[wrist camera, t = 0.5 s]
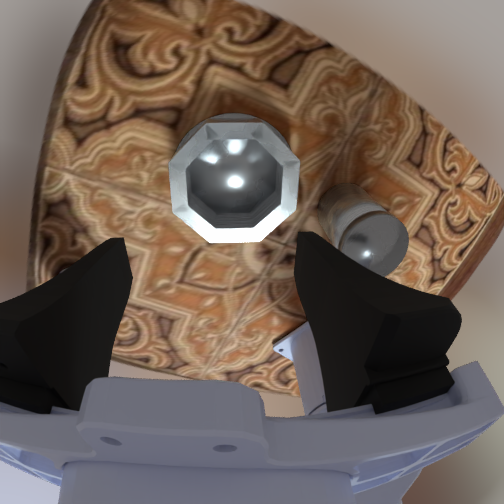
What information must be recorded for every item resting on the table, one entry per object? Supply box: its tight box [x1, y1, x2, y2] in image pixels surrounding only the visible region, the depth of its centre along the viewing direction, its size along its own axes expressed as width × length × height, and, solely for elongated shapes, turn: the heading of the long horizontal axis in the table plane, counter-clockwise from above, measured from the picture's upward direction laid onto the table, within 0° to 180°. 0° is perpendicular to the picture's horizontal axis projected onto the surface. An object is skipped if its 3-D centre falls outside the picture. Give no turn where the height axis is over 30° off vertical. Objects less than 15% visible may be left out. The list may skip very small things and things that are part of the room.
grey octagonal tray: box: [168, 113, 300, 243], centre depth 19 cm, size 8×8×3 cm
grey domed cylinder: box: [317, 183, 409, 277], centre depth 20 cm, size 5×5×6 cm
